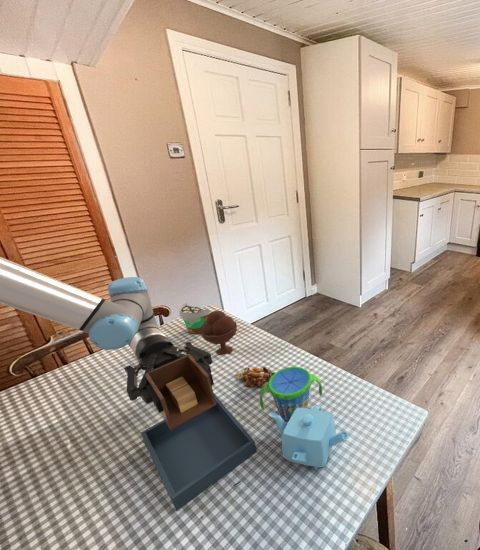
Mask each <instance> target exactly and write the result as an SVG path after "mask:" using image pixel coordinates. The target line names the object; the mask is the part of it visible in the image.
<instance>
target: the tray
mask: <svg viewBox="0 0 480 550" xmlns="http://www.w3.org/2000/svg"><path fill="white" fill-rule="evenodd" d="M214 397H215V401H216V405H215V406H213V407H212V408H210V409H208V410H206V411H205V412H203V413H201V414H199V415H198V416H196V417H194V418H192V419H190V420H189V421H187V422H185V423H183V424H182V425H180V426H178V427H176V428H175V429H173V430H170V428H169V427H168V425H167V423H166V422H165V420H164V419H163V420H161V421H159V422H157V423H155V424H154V425H151V426H150V427H148V428H146V429H145V430H142V431H141V432H140V436H141V438H142V440H143V443H144V445H145V447H146V450H147V452H148V454H149V456H150V458H151V461H152V462H153V465H154V467H155V468H156V469H155V470H156V471H157V473H158V476H159V478H160V480H161V481H162V483H163V486H164V488H165V490H166V493H167V495H168V497H169V499H170V500H171V503H172V505H173V507H174V509H175V510H174V511H176V512H178V511H180V510H181V509H182V508H183V507H185V506H186V505H187V504H189V503H190V502H192V501H193V500H194V499H195V498H197V497H198V496H199V495H202V493H204V492H205V491H206V490H208V489H209V488H210V487H212V486H213V485H215V484H216V483H217V482H218V481H220V480H221V479H223V478H224V477H225V476H226V475H228V474H229V473H231V472H232V471H233V470H235V469H236V468H237V467H239V466H240V465H242V464H243V463H244V462H246V461H247V460H248V459H249V458H251V457H252V456H254V455H255V454H256V453H257V446H256V441H255V439H254V438H253V437H252V436H251V434H249V432H248V431H247V430H246V429H245V427H243V425H241V423H240V422H239V421H238V419H237V418H236V417H235V416H234V415H233V413H232V412H231V411H230V410H229V409H228V408H227V407H226V405H225V404H224V402H222V401H221V400H220V398H219V397H218V396H217V395H216V394H215V393H214Z"/></svg>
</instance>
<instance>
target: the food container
mask: <svg viewBox="0 0 480 550" xmlns="http://www.w3.org/2000/svg"><path fill="white" fill-rule="evenodd" d="M210 313H211V312H210V310H209V308H206V309H203V308H201V307H198V306H191V305H188V303H184V304H182V305H181V306H180V307H179V317H180V318H182V319H183V322H184V325H185V327H186V330H187V333H188V334H189V335H195V336H196V335H201V329H203V326H204V325H205V324H206V323H207V317H208V315H209V314H210Z"/></svg>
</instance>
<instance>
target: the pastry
mask: <svg viewBox="0 0 480 550" xmlns="http://www.w3.org/2000/svg"><path fill="white" fill-rule="evenodd" d="M275 373H276V372H274V371H272V369H270V368H268V367H267V366H263V367H262V368H261V367H253V368H252V369H251V368H250V367H244V369H240V370H239V371H237V372H236V373H235V376H236V377H235V378H237V380H240V379H242V380H243V381H246V382H245V383H244V387H245V388H246V387H250V388H253V387H255V385H258V387H260V388H263V387H264V386H265V385H266V384H267V383H268V382H269V380H270V378H271V377H272V376H273V375H274V374H275Z"/></svg>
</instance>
